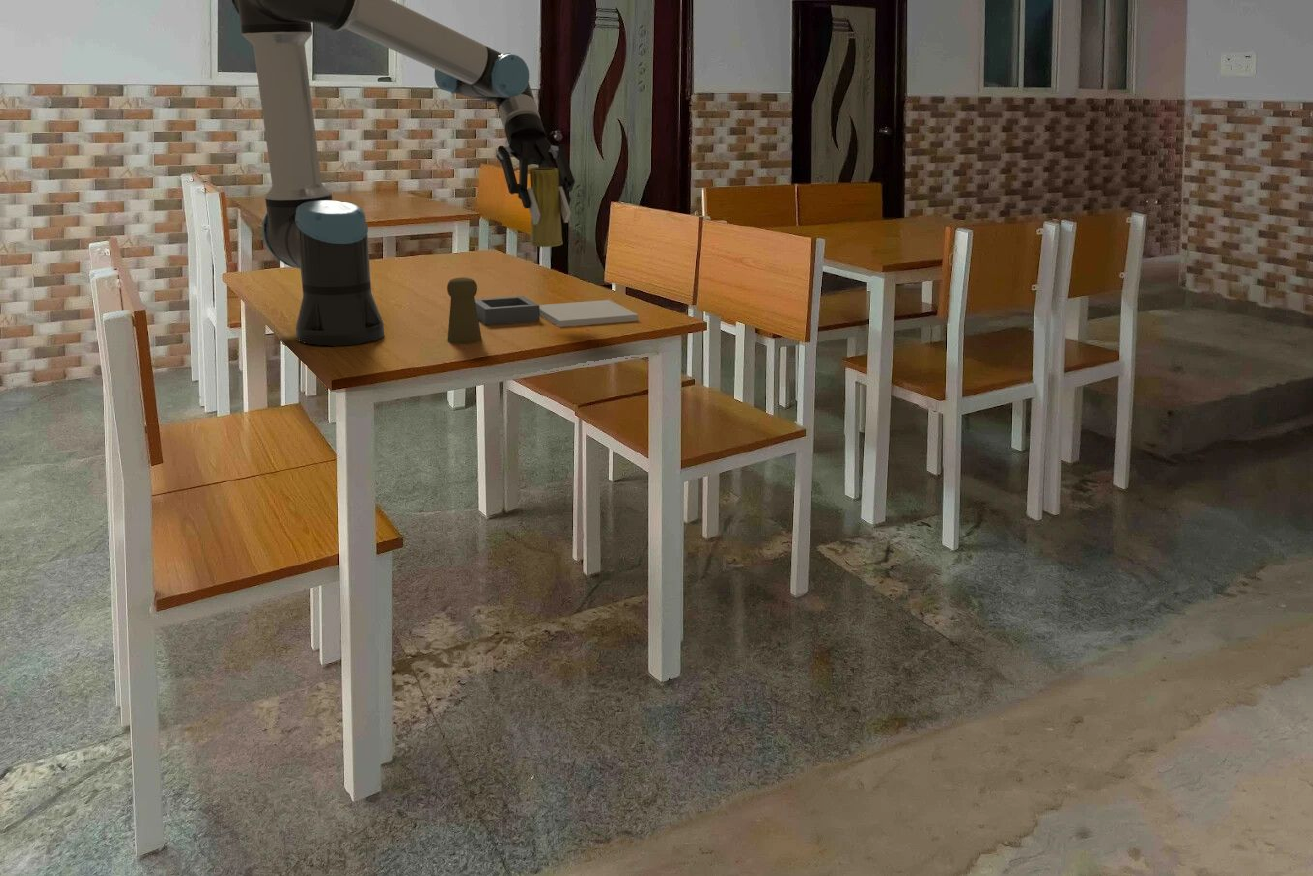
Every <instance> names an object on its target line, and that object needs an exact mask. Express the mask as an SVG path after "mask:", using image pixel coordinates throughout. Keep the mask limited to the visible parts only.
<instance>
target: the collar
mask: <svg viewBox="0 0 1313 876" xmlns="http://www.w3.org/2000/svg"><path fill="white" fill-rule="evenodd" d="M475 304H476V309H477V315H478V321H480V322H481V323H482V324H484V325H485V326H492V325H504V324H505V325H506V324H516V323H517V324H518V323H533V322H540V320H541V319H540V317H541V315H540V309H539V305H540V304H538V303H536V302H534V301H533V300H531V299H530V298H528V297H526V296H524V295H519V296H506V297H505V296H502V297H492V298H491V297H490V298H488V297H487V298H475Z"/></svg>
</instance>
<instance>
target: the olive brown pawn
mask: <svg viewBox="0 0 1313 876" xmlns="http://www.w3.org/2000/svg"><path fill="white" fill-rule="evenodd" d="M446 290H447V291H446V292H447V294H448V296H449V297H450V303H449V304H450V305H449V316H448V317H449V318H448V329H447V342H449V343H452V344H460V345H461V344H463V345H465V344H466V345H467V344H475V343H478V342H481V341H482V339H483V337H482V333H481V328H480V322H479V321H480V320H478V315H477V309H476V304H475V299H476V298H475V297H476V295H477V292H478V285H477V282H476V281H475V279H473V278H470V277H463V276H462V277H455V278H451V279H449V281H448V283H447V286H446Z"/></svg>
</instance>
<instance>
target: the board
mask: <svg viewBox="0 0 1313 876" xmlns="http://www.w3.org/2000/svg"><path fill="white" fill-rule="evenodd" d="M538 305H539V309H540V317H543V318H544V319H546V320H547V321H549V322H550V323H552V324H554V325H555V326H556V327H558V328H563V327H565V328H566V327H577V326H579V327H580V326H588V325H591V326H592V325H600V324H613V323H614V324H615V323H626V322H627V323H628V322H638V321H639V313H637V312H634V311H632V310H630V309H628V308H626V307H624V306H622V305H620V304H618V303H616V302H614V301H612V300H610V299H607V300H606V299H604V300H591V301H578V302H577V301H576V302H564V303H563V302H562V303H561V302H560V303H548V304H538Z"/></svg>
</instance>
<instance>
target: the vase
mask: <svg viewBox="0 0 1313 876" xmlns="http://www.w3.org/2000/svg"><path fill="white" fill-rule="evenodd" d="M558 171H559V169H558V167H556V168H540V167H533V168H530V171H529V172H530V173H529V175H530V176H529V177H530V179H529V180H530V188H532V190H533V193H534V196H535V200H536V203H537V206H538V209H539V212H540V218H539V222H538V224H537V225H534V224H533V221H532V217H531V216H530V218H531V219H530V224H531V225H530V229H531V231H530V233H531V235H530V236H531V237H530V245H531V246H533V247H539V248H553V247H558V246H562V245H563V244H564V243H563V237H562V236H563V235H562V232H563V231H562V221H561V220H562V219H561V211H560V201H559V178H558Z"/></svg>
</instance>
